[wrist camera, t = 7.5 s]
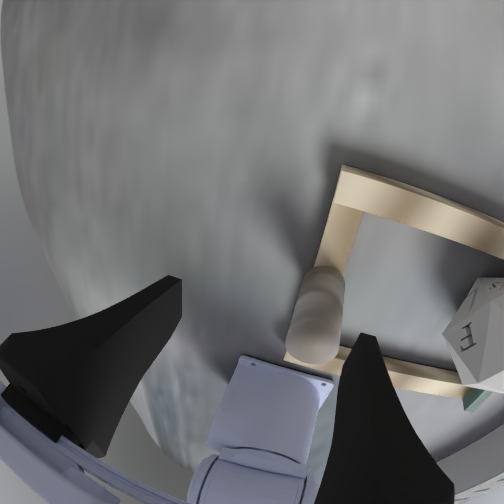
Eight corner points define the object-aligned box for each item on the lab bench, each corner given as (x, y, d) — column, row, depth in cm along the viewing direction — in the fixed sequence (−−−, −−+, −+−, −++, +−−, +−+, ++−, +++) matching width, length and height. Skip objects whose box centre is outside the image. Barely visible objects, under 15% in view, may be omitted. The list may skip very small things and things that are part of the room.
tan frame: (281, 346, 27) (261, 409, 21) (333, 162, 18) (326, 200, 12) (468, 388, 23) (477, 444, 18) (563, 252, 14) (603, 304, 9)
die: (518, 230, 16) (488, 303, 12) (572, 312, 13) (553, 408, 9) (457, 286, 23) (404, 356, 19) (507, 353, 20) (465, 434, 15)
